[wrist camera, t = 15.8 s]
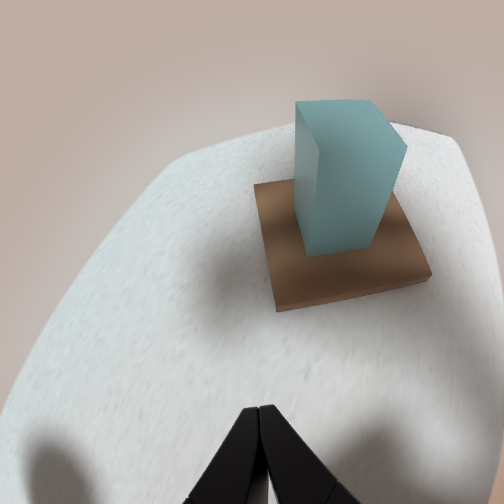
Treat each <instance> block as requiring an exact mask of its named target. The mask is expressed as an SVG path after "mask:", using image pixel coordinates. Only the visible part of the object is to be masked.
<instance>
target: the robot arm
mask: <svg viewBox="0 0 504 504" xmlns="http://www.w3.org/2000/svg"><path fill="white" fill-rule="evenodd" d="M268 472H269V474H268ZM269 476H270V480H271V484H272V487H273V491H274V494H275V498H276V501H277V504H362V503H361V502H360V501H359V500H358V499H357V498H356V497H354V496H353V495H352V494H351V493H350V492H349V491H348V490H347V489H346V488H345V487H344V485H343V484H342V483H341V482H338V479H337V478H336V477H335V476H334V475H333V474H332V473H331V472H330V471H329V469H328V468H327V467H326V466H325V465H324V464H323V463H322V462H321V460H320V459H319V458H318V457H317V456H316V455H315V454H314V452H313V451H312V450H311V449H310V448H309V447H308V445H307V444H306V443H305V442H304V441H303V440H302V438H301V437H300V436H299V435H298V434H297V432H296V431H295V430H294V429H293V428H292V426H291V425H290V424H289V423H288V421H287V420H286V419H285V418H284V416H283V415H282V414H281V413H280V411H279V410H278V409H277V408H276V406H275V405H273V404H271V405H264V406H260V407H259V408H258V407H249V408H244V409H243V410H242V411H241V413H240V415H239V416H238V418H237V420H236V421H235V423H234V425H233V426H232V428H231V430H230V431H229V433H228V435H227V436H226V438H225V440H224V441H223V443H222V444H221V446H220V448H219V449H218V451H217V452H216V454H215V456H214V457H213V459H212V460H211V462H210V464H209V465H208V467H207V468H206V470H205V471H204V473H203V474H202V476H201V477H200V479H199V480H198V482H197V483H196V485H195V486H194V488H193V489H192V491H191V492H190V494H189V495H188V497H189V498H186V499H185V501H184V502H183V504H268V488H269Z"/></svg>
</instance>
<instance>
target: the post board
mask: <svg viewBox="0 0 504 504" xmlns="http://www.w3.org/2000/svg"><path fill="white" fill-rule="evenodd" d="M294 182H295V179H290V180H282V181H275V182H268V183H261V184H254V192H255V197H256V203H257V208H258V213H259V218H260V224H261V229H262V234H263V240H264V245H265V251H266V256H267V261H268V267H269V272H270V278H271V283H272V289H273V295H274V300H275V306H276V311H277V312H281V311H287V310H292V309H298V308H304V307H309V306H315V305H320V304H325V303H330V302H335V301H340V300H345V299H350V298H355V297H360V296H364V295H369V294H373V293H378V292H382V291H386V290H391V289H395V288H399V287H403V286H407V285H411V284H415V283H419V282H423V281H427V280H428V279H429V278H430V276H431V275H432V272H431V270H430V268H429V265H428V263H427V260H426V258H425V256H424V254H423V251H422V249H421V247H420V245H419V243H418V240H417V238H416V236H415V234H414V232H413V230H412V228H411V226H410V224H409V222H408V220H407V218H406V216H405V214H404V212H403V210H402V208H401V206H400V204H399V202H398V200H397V199H396V197H395V195H394V193H393V191H392V193H391V195H390V198H389V200H388V203H387V206H386V208H385V211H384V213H383V216H382V218H381V221H380V223H379V226H378V228H377V230H376V233H375V235H374V237H373V240H372V242H371V244H370V247H369V248H364V249H358V250H352V251H346V252H339V253H333V254H326V255H320V256H313V257H307V255H306V251H305V247H304V243H303V239H302V235H301V232H300V228H299V224H298V220H297V217H296V213H295V209H294Z"/></svg>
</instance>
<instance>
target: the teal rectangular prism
mask: <svg viewBox="0 0 504 504" xmlns="http://www.w3.org/2000/svg"><path fill="white" fill-rule="evenodd" d="M407 147H408V146H407V145H406V144H405V142H404V141H403V140H402V138H401V137H400V136H399V134H398V133H397V132H396V131H395V129H394V128H393V127H392V125H391V124H390V123H389V122H388V120H387V119H386V118H385V117H384V116H383V114H382V113H381V112H380V111H379V110H378V108H377V107H376V106H375V105H374V104H373V103H372V101H371V100H320V101H300V102H296V120H295V182H294V209H295V213H296V217H297V220H298V224H299V228H300V232H301V235H302V239H303V243H304V247H305V251H306V255H307V257H313V256H320V255H326V254H333V253H339V252H346V251H352V250H358V249H364V248H369V247H370V244H371V242H372V240H373V237H374V235H375V233H376V230H377V228H378V226H379V223H380V221H381V218H382V216H383V213H384V211H385V208H386V206H387V203H388V200H389V198H390V195H391V193H392V190H393V187H394V184H395V182H396V179H397V176H398V173H399V170H400V168H401V165H402V162H403V159H404V156H405V153H406V150H407Z"/></svg>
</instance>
